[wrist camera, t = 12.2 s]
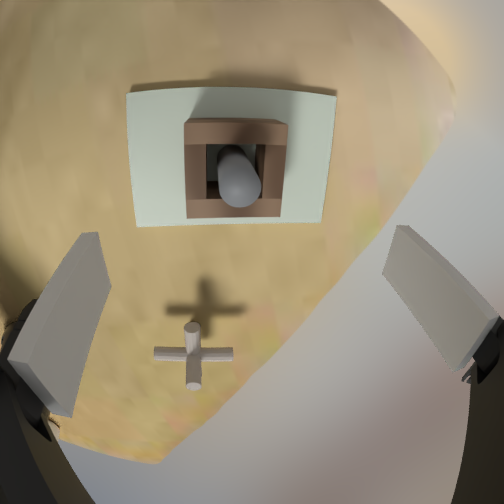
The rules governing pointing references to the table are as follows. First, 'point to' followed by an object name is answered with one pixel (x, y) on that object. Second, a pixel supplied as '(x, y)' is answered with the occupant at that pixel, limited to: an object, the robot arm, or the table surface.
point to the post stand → (226, 151)
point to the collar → (266, 167)
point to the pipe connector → (193, 355)
